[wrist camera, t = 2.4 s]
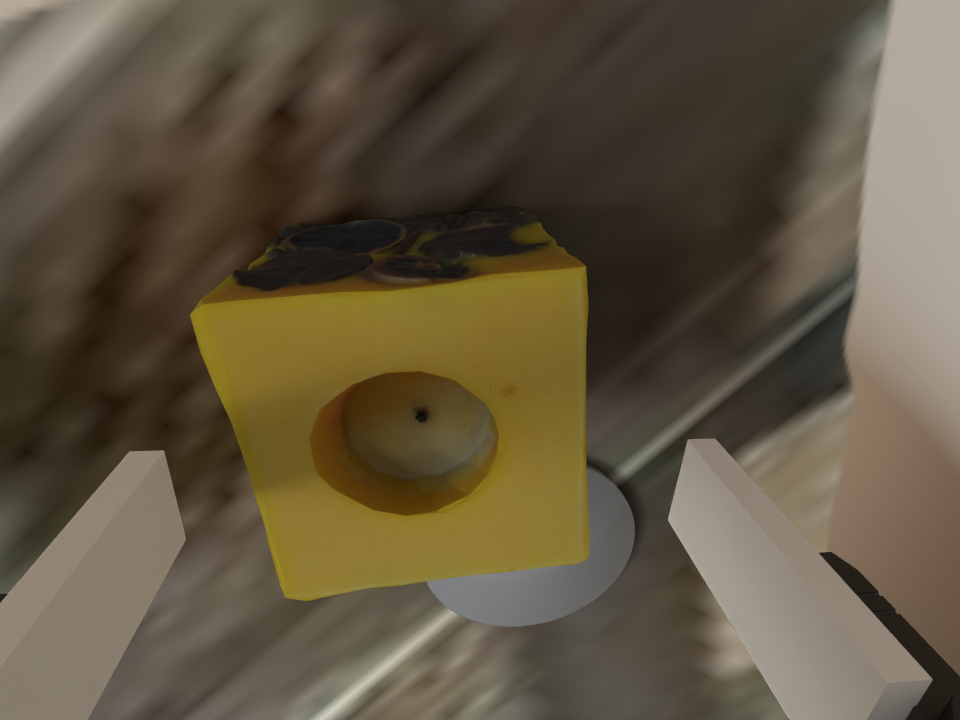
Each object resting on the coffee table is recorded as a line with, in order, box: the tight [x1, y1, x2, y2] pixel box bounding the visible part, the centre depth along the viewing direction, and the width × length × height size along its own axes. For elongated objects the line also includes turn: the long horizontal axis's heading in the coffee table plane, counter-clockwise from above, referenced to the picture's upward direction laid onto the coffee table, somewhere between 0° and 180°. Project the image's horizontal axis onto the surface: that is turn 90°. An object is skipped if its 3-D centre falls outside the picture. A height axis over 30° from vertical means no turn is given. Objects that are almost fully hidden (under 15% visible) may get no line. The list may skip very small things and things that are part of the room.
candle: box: [190, 206, 590, 601], centre depth 19 cm, size 10×10×10 cm
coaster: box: [426, 464, 635, 627], centre depth 29 cm, size 12×12×1 cm
